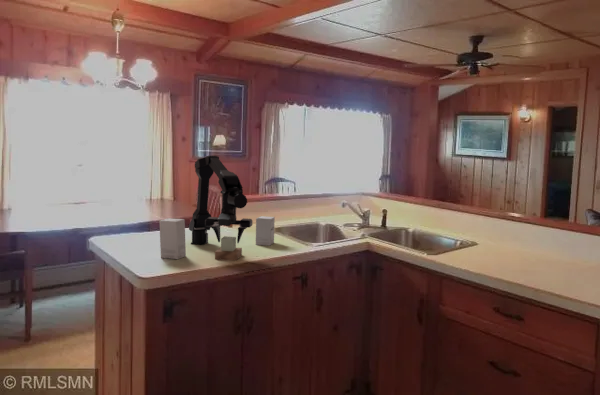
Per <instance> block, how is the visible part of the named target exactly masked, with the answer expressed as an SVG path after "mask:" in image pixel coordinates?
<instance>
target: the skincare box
mask: <svg viewBox="0 0 600 395" xmlns="http://www.w3.org/2000/svg"><path fill="white" fill-rule="evenodd" d="M185 223H186V220H185V219H184V218H170V217H169V218H165V219H161V220H159V242H160V247H159V248H160V258H162V259H170V260H171V259H172V260H180V259H182V258H184V257H186V256H187V251H186V247H187V246H186V224H185Z"/></svg>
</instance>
